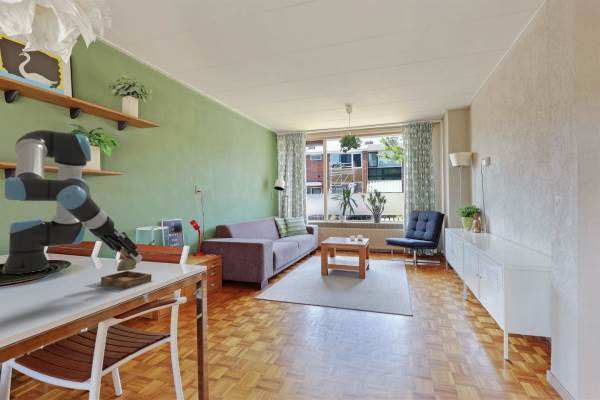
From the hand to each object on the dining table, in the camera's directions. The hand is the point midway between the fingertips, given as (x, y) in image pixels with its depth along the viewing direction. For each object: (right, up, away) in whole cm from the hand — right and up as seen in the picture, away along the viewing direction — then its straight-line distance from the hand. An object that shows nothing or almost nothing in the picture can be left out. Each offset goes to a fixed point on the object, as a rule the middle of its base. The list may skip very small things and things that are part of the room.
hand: (135, 259), depth 121 cm
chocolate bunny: (-1, -3, -4) cm, 5 cm away
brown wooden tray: (-2, -9, -3) cm, 10 cm away
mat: (-3, -9, -5) cm, 11 cm away
